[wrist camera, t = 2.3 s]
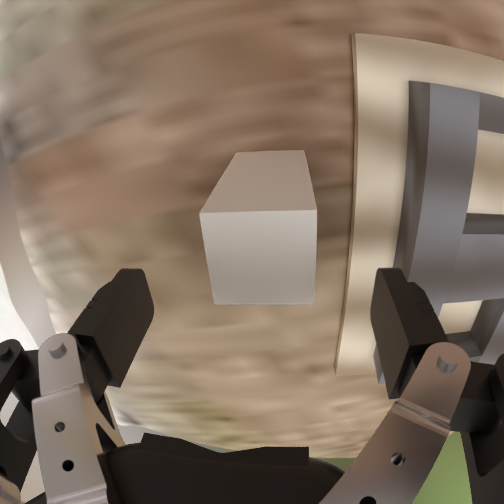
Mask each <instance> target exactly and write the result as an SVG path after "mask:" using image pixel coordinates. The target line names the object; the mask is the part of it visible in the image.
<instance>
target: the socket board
mask: <svg viewBox="0 0 504 504" xmlns="http://www.w3.org/2000/svg"><path fill="white" fill-rule="evenodd" d="M351 36H352V52H353V73H354V114H355V138H354V180H353V202H352V219H351V233H350V246H349V258H348V268H347V278H346V288H345V296H344V305H343V313H342V321H341V328H340V335H339V342H338V349H337V355H336V361H335V376H341V375H360V374H375V373H377V378H378V383H379V384H382V383H385V378H384V374H383V369H382V365H381V361H380V356H379V352H378V348H377V344H376V340H375V336H374V332H373V328H372V324H371V318H370V308H371V301H372V295H373V289H374V283H375V277H376V272H377V269H378V268H396V267H399V268H401V270H402V272H403V274H404V276H405V278H406V280H407V282H415V283H416V284H417V285H418V286H420V287H421V288H422V289H423V290H424V291H425V293H426V295H427V297H428V299H429V301H430V304H431V305H432V307H433V309H434V312H435V313H436V315H437V317H438V319H439V321H440V323H441V325H442V327H443V330H444V332H445V334H446V336H447V338H448V341H449V343H452V344H455V345H457V346H459V347H460V348H462V349H463V350H464V351H465V352H466V353H467V355H468V356H469V359H470V361H473V362H478V363H486V364H493V365H494V364H495V363H496V361H497V359H498V358H499V356H500V355H502V354H504V61H502V60H499V59H496V58H492V57H489V56H486V55H482V54H478V53H475V52H471V51H467V50H463V49H459V48H454V47H450V46H445V45H441V44H436V43H430V42H425V41H419V40H413V39H406V38H399V37H392V36H383V35H374V34H362V33H354V34H352V35H351Z"/></svg>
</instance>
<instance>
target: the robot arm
mask: <svg viewBox="0 0 504 504" xmlns="http://www.w3.org/2000/svg"><path fill="white" fill-rule="evenodd" d="M153 315H154V305H153V301H152V298H151V294H150V291H149V287H148V284H147V280H146V277H145V274H144V271H143V270H142V269H121V270H120V271H119V272H118V273H117V274H116V276H115V277H114V278H113V280H112V281H111V282H108V283H107V284H106V285H104V286H103V287H102V288H100V289H99V290H98V291H97V293H96V294H95V295H94V297H93V298H92V301H90V302H89V303H88V305H87V306H86V308H85V309H84V310H83V312H82V313H81V314H80V316H79V317H78V319H77V320H76V321H75V323H74V324H73V326H72V327H71V329H70V330H69V331H68V333H61V334H57V335H54V336H52V337H50V338H48V339H47V340H46V341H45V342H44V343H43V344H42V346H41V347H40V349H39V350H30V351H25V350H24V349H23V347H22V346H21V344H20V342H19V341H17V340H15V339H9V340H6V341H3V342H2V343H0V411H1V409H2V407H3V405H4V403H5V401H6V399H7V398H8V396H9V394H10V392H11V391H12V393H13V394H14V395H15V396H16V398H17V399H18V400H19V402H18V404H17V406H16V408H15V410H14V412H13V414H12V415H11V417H10V419H9V422H8V423H7V425H6V427H5V426H4V425H3V424H2V423H1V420H0V504H412V502H413V500H414V499H415V497H416V496H417V494H418V492H419V490H420V489H421V487H422V485H423V483H424V482H425V480H426V478H427V476H428V474H429V473H430V471H431V469H432V467H433V465H434V463H435V461H436V459H437V457H438V455H439V453H440V451H441V449H442V447H443V445H444V443H445V441H446V438H447V436H448V434H449V432H450V431H458V432H460V433H461V438H462V442H463V447H464V452H465V458H466V463H467V469H468V475H469V481H470V488H471V495H472V503H473V504H504V354H502V355H500V356H499V358H498V359H497V361H496V363H495V364H494V365H493V364H486V363H478V362H473V361H470V359H469V356H468V355H467V353H466V352H465V351H464V350H463V349H462V348H460V347H459V346H457V345H455V344H452V343H449V341H448V338H447V336H446V334H445V332H444V330H443V327H442V325H441V323H440V321H439V319H438V317H437V315H436V313H435V312H434V309H433V307H432V305H431V304H430V301H429V299H428V297H427V295H426V293H425V291H424V290H423V289H422V288H421V287H420V286H418V285H417V284H416V283H415V282H407V280H406V278H405V276H404V274H403V272H402V270H401V268H399V267H396V268H378V269H377V272H376V277H375V283H374V289H373V295H372V301H371V308H370V318H371V324H372V328H373V332H374V336H375V340H376V344H377V348H378V352H379V356H380V361H381V365H382V369H383V374H384V378H385V383H386V388H387V392H388V397H389V399H396V398H399V400H398V401H396V402H395V403H394V404H393V406H392V407H391V409H390V410H389V412H388V413H387V415H386V416H385V418H384V420H383V421H382V423H381V424H380V426H379V427H378V428H377V430H376V431H375V433H374V434H373V436H372V437H371V439H370V440H369V441H368V443H367V444H366V446H365V447H364V448H363V450H362V451H361V452H360V454H359V455H358V456H357V458H356V459H355V461H354V462H353V463H352V464H351V466H350V467H349V468H348V470H347V471H346V472H344V471H343V470H341V469H339V468H338V467H336V466H334V465H331V464H329V463H327V462H324V461H321V460H318V459H314V458H310V457H309V447H260V448H254V449H248V450H242V451H235V452H227V453H219V452H215V451H212V450H209V449H206V448H204V447H201V446H198V445H196V444H193V443H190V442H188V441H185V440H183V439H179V438H173V437H166V436H160V435H155V434H149V433H144V435H143V438H142V440H141V443H135V444H128V445H126V444H125V443H124V441H123V439H122V437H121V435H120V432H119V429H118V427H117V424H116V421H115V418H114V415H113V412H112V409H111V406H110V403H109V399H108V396H107V394H106V393H105V389H106V387H107V385H109V386H114V387H121V385H122V382H123V380H124V378H125V376H126V374H127V372H128V369H129V367H130V365H131V363H132V361H133V359H134V357H135V355H136V352H137V350H138V348H139V346H140V344H141V342H142V340H143V338H144V336H145V334H146V332H147V330H148V328H149V326H150V324H151V322H152V319H153ZM36 451H38V458H39V463H40V469H41V474H42V479H43V484H44V488H45V492H44V493H42V494H40V495H39V496H37V497H35V498H33V499H32V500H30V501H28V502H26V503H24V502H23V501H22V500H21V496H20V492H21V489H22V486H23V484H24V481H25V478H26V476H27V473H28V471H29V468H30V465H31V463H32V460H33V458H34V456H35V453H36Z"/></svg>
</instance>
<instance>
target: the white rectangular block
mask: <svg viewBox="0 0 504 504" xmlns="http://www.w3.org/2000/svg"><path fill="white" fill-rule="evenodd" d="M199 216H200V223H201V229H202V235H203V242H204V248H205V254H206V260H207V265H208V271H209V277H210V283H211V288H212V294H213V299H214V304H228V305H311V304H314V298H315V276H316V246H317V207H316V202H315V197H314V192H313V188H312V183H311V178H310V174H309V169H308V165H307V160H306V156H305V152H304V150H279V151H254V152H236V154H235V155H234V157H233V159H232V160H231V162H230V163H229V165H228V167H227V168H226V170H225V171H224V173H223V175H222V176H221V178H220V179H219V181H218V183H217V184H216V186H215V188H214V189H213V191H212V193H211V194H210V196H209V197H208V199H207V201H206V202H205V204H204V206H203V207H202V209H201V211H200V213H199Z"/></svg>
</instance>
